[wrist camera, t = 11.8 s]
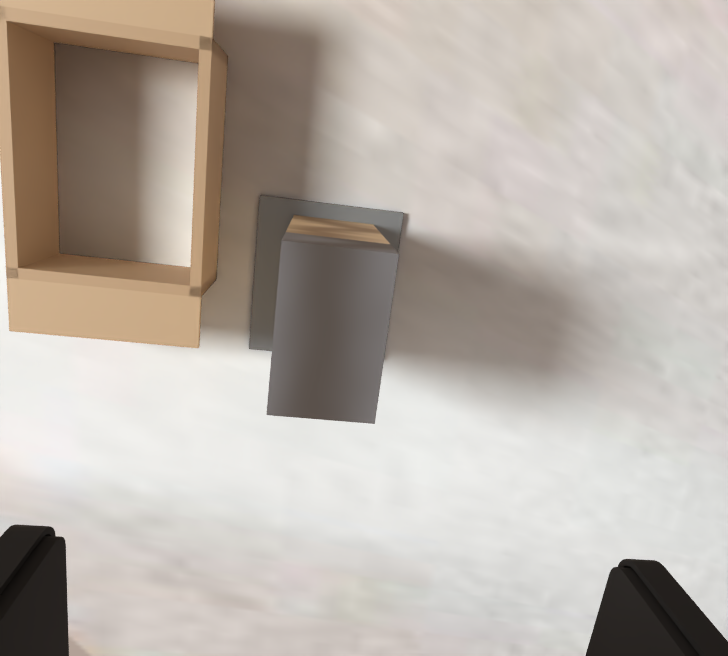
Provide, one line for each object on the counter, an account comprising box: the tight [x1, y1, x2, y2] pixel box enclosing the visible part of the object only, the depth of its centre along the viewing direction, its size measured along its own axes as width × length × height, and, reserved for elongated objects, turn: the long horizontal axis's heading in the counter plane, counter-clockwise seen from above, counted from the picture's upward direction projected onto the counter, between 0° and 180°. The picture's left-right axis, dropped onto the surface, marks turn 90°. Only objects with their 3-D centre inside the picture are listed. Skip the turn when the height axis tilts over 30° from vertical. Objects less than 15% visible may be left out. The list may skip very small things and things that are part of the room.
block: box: [267, 215, 399, 424], centre depth 30 cm, size 5×8×12 cm, turn 173°
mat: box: [249, 195, 403, 351], centre depth 36 cm, size 9×10×1 cm
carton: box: [0, 0, 228, 348], centre depth 31 cm, size 10×19×5 cm, turn 173°
